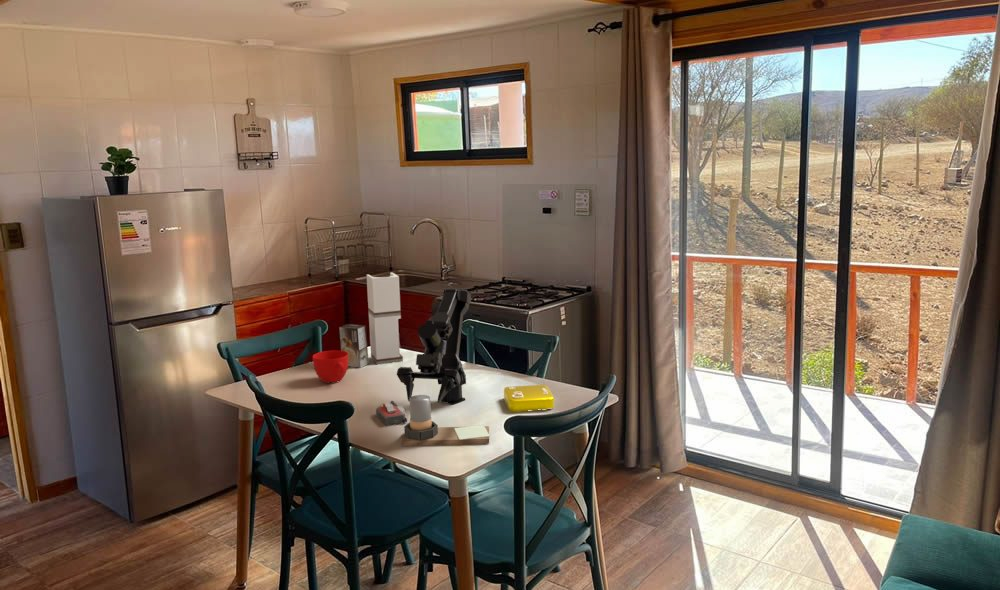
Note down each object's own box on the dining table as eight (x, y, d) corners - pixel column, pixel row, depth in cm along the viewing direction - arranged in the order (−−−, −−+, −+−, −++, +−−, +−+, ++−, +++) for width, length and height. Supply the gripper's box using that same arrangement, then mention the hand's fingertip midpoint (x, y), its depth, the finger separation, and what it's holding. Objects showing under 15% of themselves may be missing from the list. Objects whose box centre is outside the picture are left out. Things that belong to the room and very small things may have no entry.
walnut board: (402, 445, 211) (402, 441, 211) (406, 433, 221) (405, 428, 221) (489, 443, 212) (489, 438, 211) (489, 430, 221) (488, 426, 221)
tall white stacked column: (402, 361, 299) (398, 276, 292) (377, 364, 295) (372, 278, 288) (396, 354, 309) (392, 272, 302) (371, 357, 305) (366, 274, 299)
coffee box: (369, 363, 296) (367, 325, 293) (360, 368, 290) (358, 328, 287) (350, 361, 300) (348, 323, 297) (341, 366, 294) (338, 326, 291)
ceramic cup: (327, 390, 263) (325, 364, 261) (308, 380, 276) (307, 354, 274) (360, 383, 270) (358, 357, 268) (341, 373, 284) (339, 348, 282)
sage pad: (454, 428, 219) (454, 428, 219) (483, 425, 221) (483, 425, 221) (459, 439, 211) (459, 439, 211) (490, 436, 213) (490, 435, 213)
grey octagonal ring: (422, 425, 223) (421, 417, 222) (444, 433, 216) (444, 424, 216) (397, 435, 216) (397, 426, 215) (420, 442, 209) (419, 434, 209)
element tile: (555, 410, 239) (555, 396, 238) (509, 413, 237) (509, 399, 236) (546, 396, 253) (546, 382, 252) (503, 398, 251) (503, 385, 251)
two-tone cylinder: (421, 428, 220) (420, 393, 218) (436, 433, 216) (435, 397, 214) (406, 434, 216) (404, 398, 214) (420, 439, 212) (419, 403, 210)
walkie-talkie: (413, 423, 230) (395, 404, 248) (413, 410, 229) (394, 392, 247) (386, 428, 226) (369, 409, 244) (385, 415, 225) (368, 396, 243)
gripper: (397, 341, 222) (386, 387, 213) (457, 343, 218) (448, 390, 209) (406, 359, 231) (396, 404, 222) (464, 361, 227) (456, 407, 218)
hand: (423, 401), depth 218 cm, fingers open, 9 cm apart
